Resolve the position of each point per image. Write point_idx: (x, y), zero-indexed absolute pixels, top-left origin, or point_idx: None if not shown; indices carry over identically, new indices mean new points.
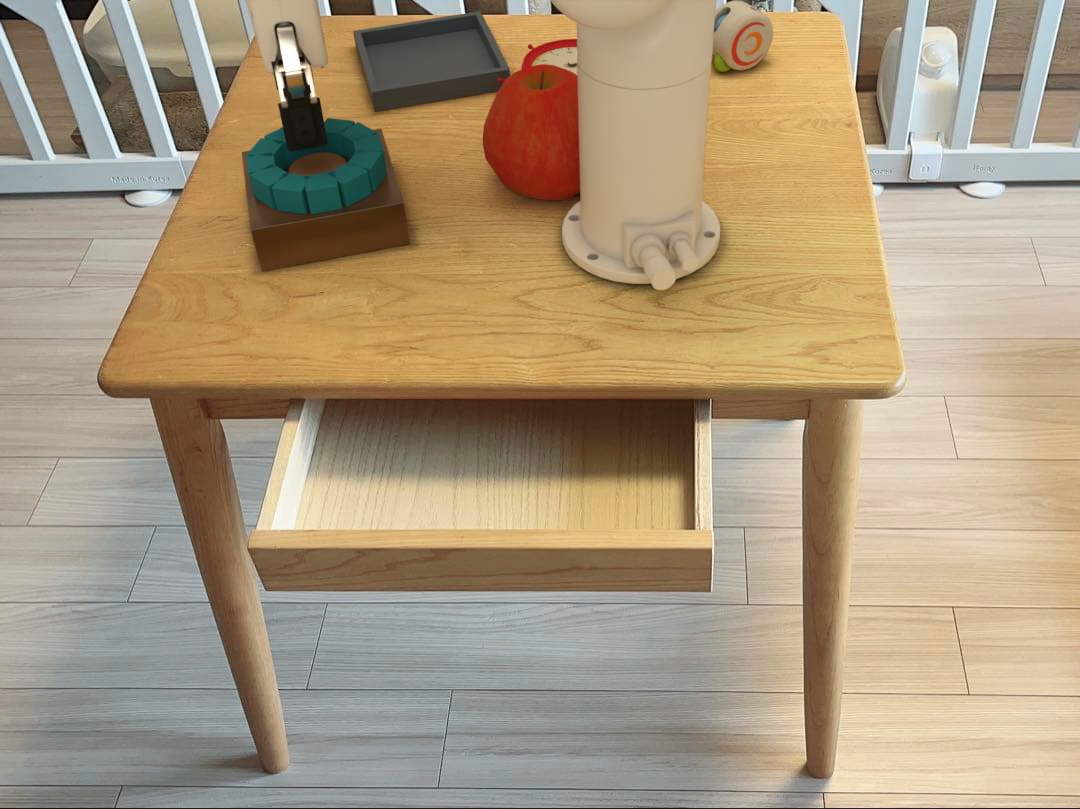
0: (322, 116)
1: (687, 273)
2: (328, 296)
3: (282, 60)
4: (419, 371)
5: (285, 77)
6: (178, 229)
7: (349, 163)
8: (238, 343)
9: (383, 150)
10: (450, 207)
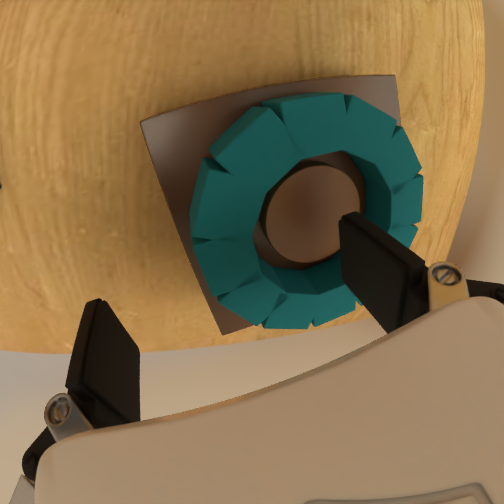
0: (397, 240)
1: None
2: None
3: (127, 394)
4: (479, 100)
5: (130, 361)
6: (278, 334)
7: (378, 160)
8: (434, 233)
9: (233, 101)
10: (273, 15)
